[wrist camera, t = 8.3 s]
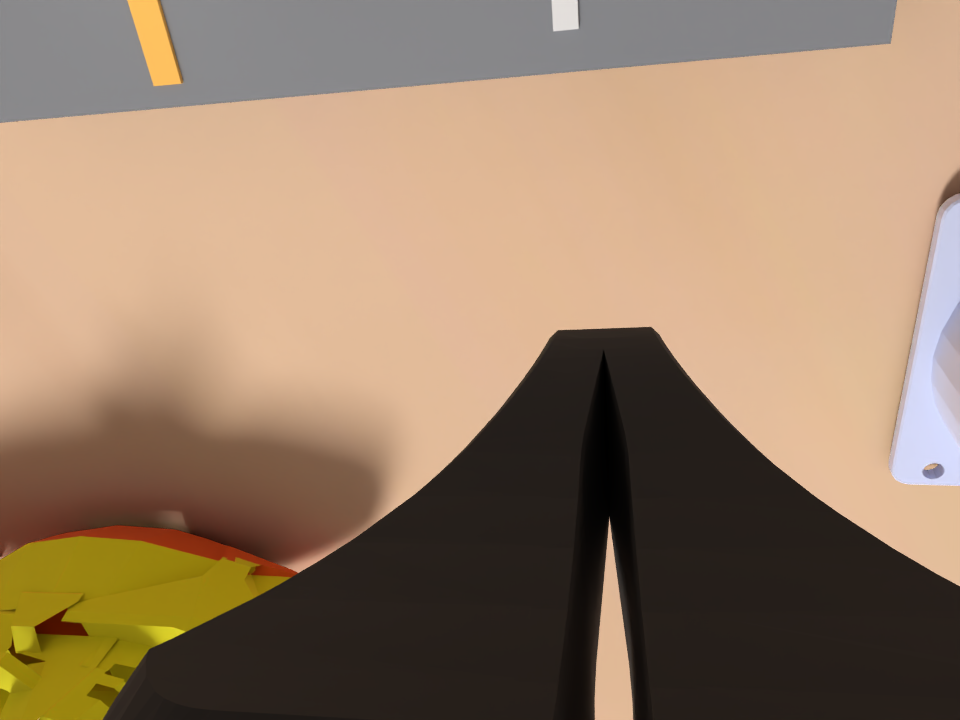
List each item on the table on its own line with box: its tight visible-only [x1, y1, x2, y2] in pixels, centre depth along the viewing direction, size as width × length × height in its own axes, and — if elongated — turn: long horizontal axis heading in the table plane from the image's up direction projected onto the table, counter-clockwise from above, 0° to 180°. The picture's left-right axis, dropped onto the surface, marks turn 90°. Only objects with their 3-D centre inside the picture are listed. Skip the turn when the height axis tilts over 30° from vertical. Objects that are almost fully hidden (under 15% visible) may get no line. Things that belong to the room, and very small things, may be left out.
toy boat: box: [0, 525, 298, 720], centre depth 24 cm, size 6×18×10 cm, turn 100°
